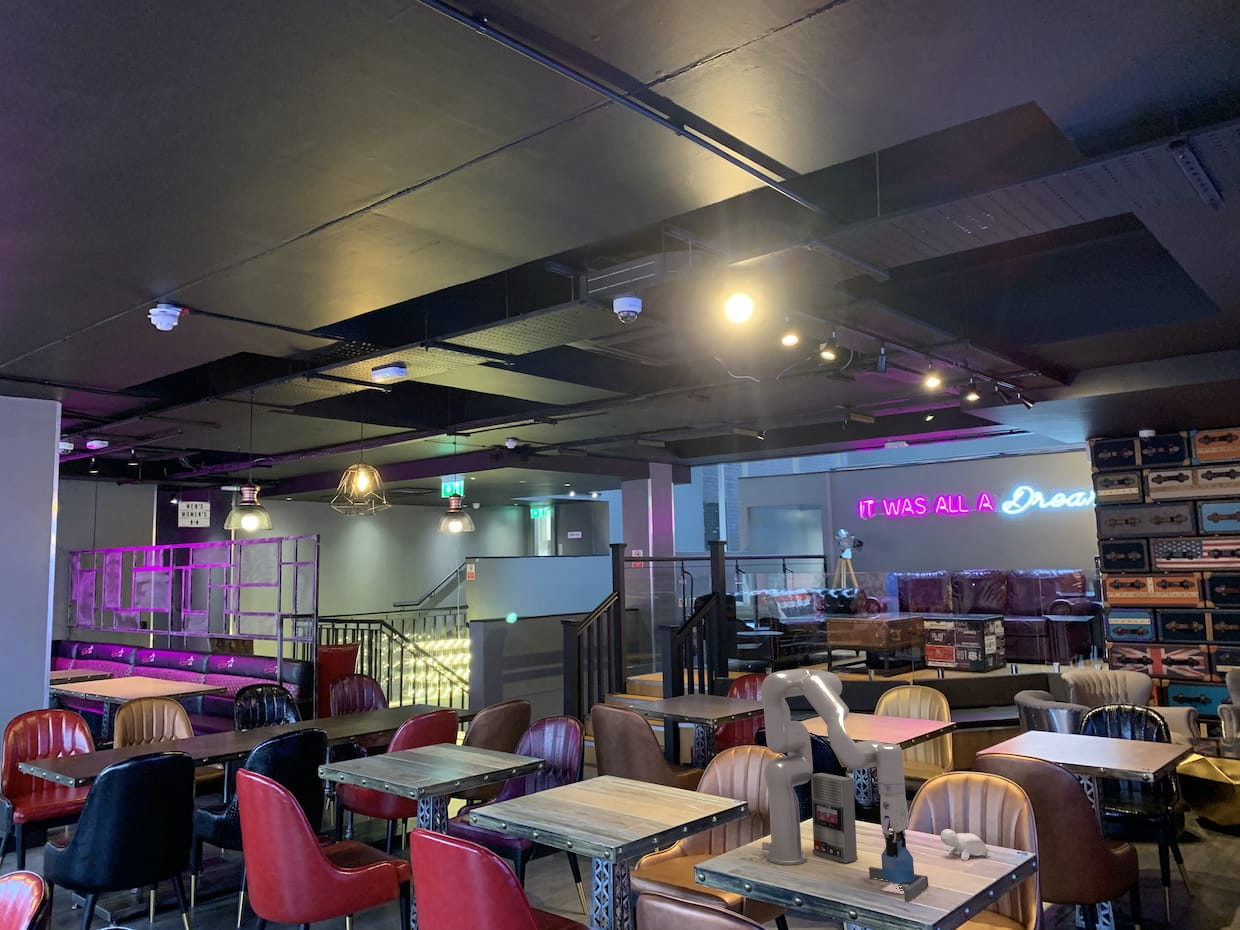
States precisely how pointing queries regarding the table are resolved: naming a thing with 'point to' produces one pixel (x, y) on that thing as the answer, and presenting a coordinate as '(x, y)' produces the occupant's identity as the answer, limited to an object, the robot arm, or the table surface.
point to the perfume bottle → (898, 864)
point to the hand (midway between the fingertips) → (896, 853)
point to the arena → (909, 891)
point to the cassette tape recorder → (834, 817)
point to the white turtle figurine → (964, 844)
